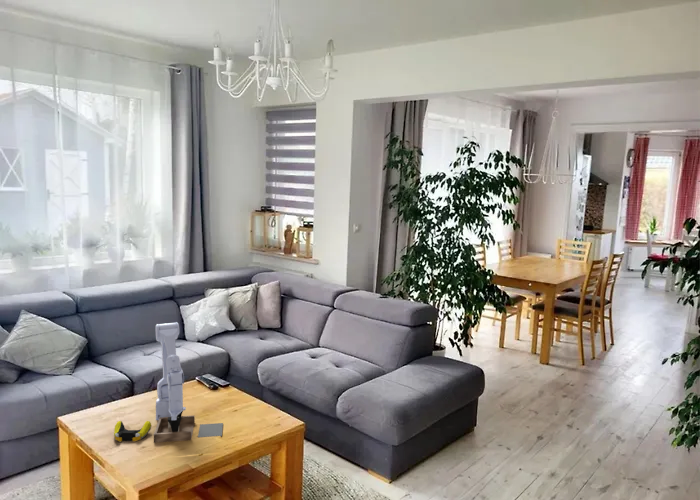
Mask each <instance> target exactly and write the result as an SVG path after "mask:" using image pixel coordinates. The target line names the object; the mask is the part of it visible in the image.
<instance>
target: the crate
mask: <svg viewBox="0 0 700 500" xmlns="http://www.w3.org/2000/svg"><path fill="white" fill-rule="evenodd" d="M181 417H182V419H181V421H180V425H179V432H168V417H160V418H159V420H157V424H156V425H155V426H156V427H155V429H154V431H153V443H166V442H167V443H168V442H169V443H170V442H182V441H183V442H184V441H192V437H193V433H194V428H195V425H196V424H195V422H196V421H195V420H196V419H195V417H196V416H195V415H193V414H192V415H181Z"/></svg>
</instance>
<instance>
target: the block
mask: <svg viewBox="0 0 700 500" xmlns="http://www.w3.org/2000/svg"><path fill="white" fill-rule="evenodd" d="M168 432H172V429H171V426H170V424H169V422H168ZM178 432H179V429H178Z"/></svg>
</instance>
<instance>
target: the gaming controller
mask: <svg viewBox="0 0 700 500" xmlns="http://www.w3.org/2000/svg"><path fill="white" fill-rule="evenodd" d="M152 426H153V425H152V422H151V421H149V420H146V421H145V422H144V424H143V425H142V427H141V428H140V429H133V430H132V429H126V428H125V425H124V423H123V421H122V420H119V421H117V422H116V423H115V425H114V429H113V431H114V432H113V437H114V438H113V439H114V440H115V441H118V442H137V441H141V440H143V438H145V437H146V436H147V435H148V433H149V432H150V431H151V428H152Z"/></svg>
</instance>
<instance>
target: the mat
mask: <svg viewBox="0 0 700 500" xmlns="http://www.w3.org/2000/svg"><path fill="white" fill-rule="evenodd" d="M223 426H224V422H218V423H202V424H199V428H198V433H197V434H198V435H197V438H208V437H209V438H210V437H211V438H212V437H220V438H222V436H223V430H224V429H223Z"/></svg>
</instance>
